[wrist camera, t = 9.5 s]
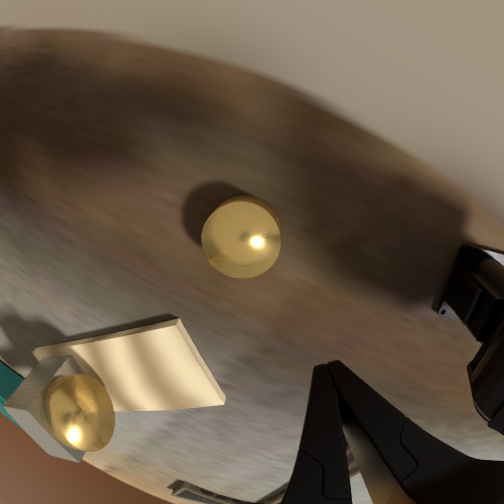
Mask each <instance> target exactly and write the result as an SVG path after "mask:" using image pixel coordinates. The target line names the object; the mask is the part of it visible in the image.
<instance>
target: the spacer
mask: <svg viewBox="0 0 504 504" xmlns="http://www.w3.org/2000/svg"><path fill="white" fill-rule="evenodd" d="M201 242H202V248H203V251H204V254H205V256H206V258H207V259H208V261H209V262H210V263H211V264H212V265H213V267H215V268H216V269H217V270H218V271H220V272H221V273H223V274H225V275H228V276H231V277H235V278H251V277H255V276H258V275H260V274H262V273H264V272H265V271H267V270H268V269H269V268H270V267H271V266H272V265H273V264H274V262H275V261H276V259H277V257H278V255H279V252H280V246H281V226H280V222H279V219H278V216H277V214H276V213H275V211H274V210H273V209H272V208H271V207H270V206H269V205H268V204H267V203H266V202H264V201H262V200H261V199H258V198H256V197H252V196H235V197H232V198H229V199H227V200H225V201H224V202H222V203H221V204H220V205H219V206H218V207H217V208H216V209H215V211H214V212H213V213H212V214H211V215H210V216H209V218H208V219H207V221H206V222H205V224H204V227H203V230H202V236H201Z"/></svg>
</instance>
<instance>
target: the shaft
mask: <svg viewBox="0 0 504 504" xmlns="http://www.w3.org/2000/svg"><path fill="white" fill-rule="evenodd" d="M11 396H12V394H9V395H7V396H6V398H5V400H4V404H5V403H6V402H7V401H8V399H9V398H10V397H11ZM6 411H7V410H6ZM45 413H46V418H47V422H48V424H49V427H50V429H51V431H52V432H53V434H54V435H55V437H56V438H57V439H58V440H59V441H60V442H61V443H63V444H64V445H66V446H68V447H70V448H73V449H77V450H83V451H89V452H93V451H98V450H100V449H102V448H103V447H105V446H106V445H107V444H108V442H109V441H110V439H111V437H112V435H113V431H114V426H115V413H114V408H113V404H112V401H111V398H110V396H109V394H108V392H107V391H106V389H105V388H104V386H103V385H102V384H101V383H100V382H99V381H98V380H96V379H95V378H93V377H91V376H89V375H86V374H72V375H64V376H61V377H59V378H57V379H56V380H55V381H54V382H53V383H52V384H51V386H50V387H49V389H48V391H47V395H46V399H45ZM8 414H9V413H8Z"/></svg>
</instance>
